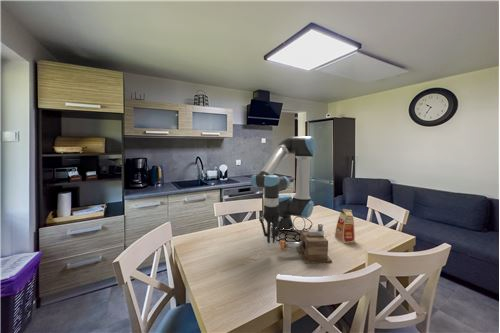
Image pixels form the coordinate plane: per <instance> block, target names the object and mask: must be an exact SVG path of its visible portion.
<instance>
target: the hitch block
mask: <svg viewBox="0 0 500 333" xmlns="http://www.w3.org/2000/svg"><path fill="white" fill-rule="evenodd" d="M307 230H308V229H305V230H300V234H299V236H300V237H299V240H300V241H299V242H305V248H295V249H296V251H297V252H298V254H299V256H300V258H301V260H302V261H303V263H304V264H307V265H309V264H333V260H332V259H331V257H329V255H328V254H329V240H328V239H327V238H326V237H325V235H324V236H308V234H307Z"/></svg>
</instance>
